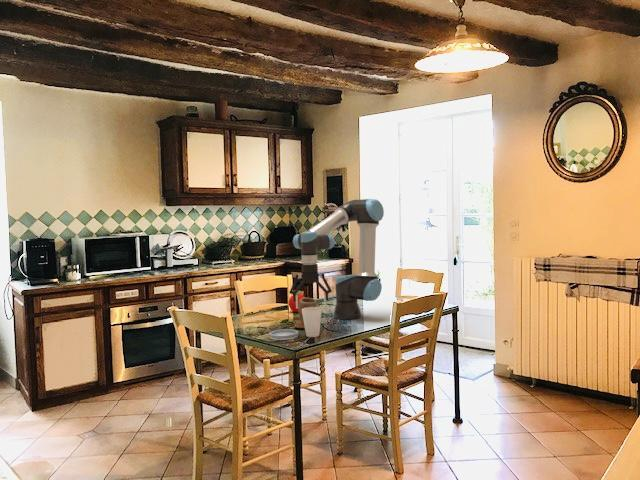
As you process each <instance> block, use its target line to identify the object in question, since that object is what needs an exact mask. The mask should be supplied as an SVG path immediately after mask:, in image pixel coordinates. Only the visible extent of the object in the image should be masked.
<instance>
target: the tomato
mask: <svg viewBox="0 0 640 480" xmlns="http://www.w3.org/2000/svg"><path fill="white" fill-rule="evenodd" d="M296 294H297V297H298V304H299V300H300V299H301V298H306V297H305V296H304V295H303V294H302V293H299V294H298V293H296ZM288 307H289V309H290V310H291V312H293V313H299V312H298V309H296V301H294V300H293V295H291V296H290V298H289V299H288Z"/></svg>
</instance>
